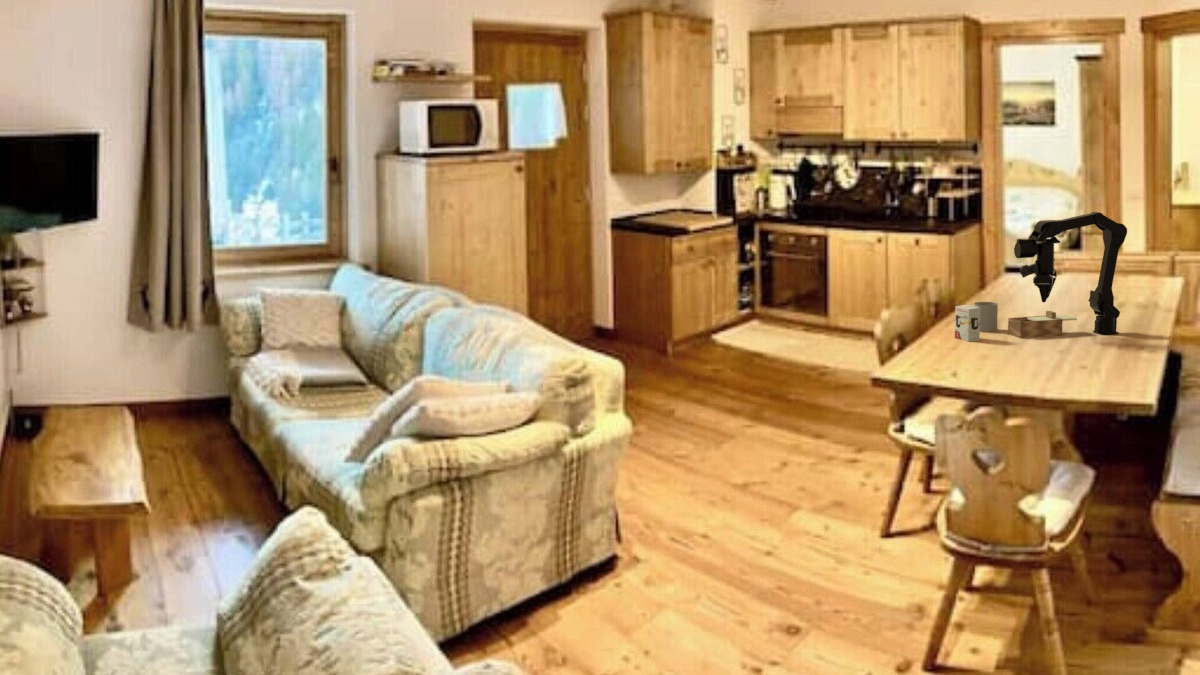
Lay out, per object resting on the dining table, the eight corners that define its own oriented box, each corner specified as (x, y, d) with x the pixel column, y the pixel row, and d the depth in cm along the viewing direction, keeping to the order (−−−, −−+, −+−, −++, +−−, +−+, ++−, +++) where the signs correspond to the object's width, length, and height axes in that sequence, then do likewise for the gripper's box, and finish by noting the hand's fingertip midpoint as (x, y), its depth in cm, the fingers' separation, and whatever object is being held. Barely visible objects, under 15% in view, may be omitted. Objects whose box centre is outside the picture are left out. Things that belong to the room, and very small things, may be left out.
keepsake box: (1048, 331, 440) (1049, 315, 439) (1062, 335, 431) (1062, 319, 430) (1007, 333, 438) (1008, 318, 437) (1020, 338, 429) (1020, 321, 428)
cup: (999, 329, 447) (1000, 302, 446) (994, 332, 441) (994, 305, 439) (976, 327, 452) (977, 301, 450) (970, 331, 445) (971, 304, 443)
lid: (1065, 316, 439) (1065, 309, 439) (1076, 319, 432) (1077, 312, 431) (1027, 319, 437) (1027, 311, 437) (1037, 322, 430) (1038, 314, 429)
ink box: (954, 337, 434) (954, 305, 432) (965, 336, 435) (966, 304, 433) (968, 341, 426) (968, 308, 424) (980, 340, 427) (980, 307, 425)
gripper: (1024, 253, 438) (1024, 295, 440) (1018, 260, 421) (1018, 304, 424) (1057, 253, 433) (1057, 295, 435) (1051, 259, 416) (1051, 304, 419)
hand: (1045, 300), depth 429 cm, fingers open, 9 cm apart
